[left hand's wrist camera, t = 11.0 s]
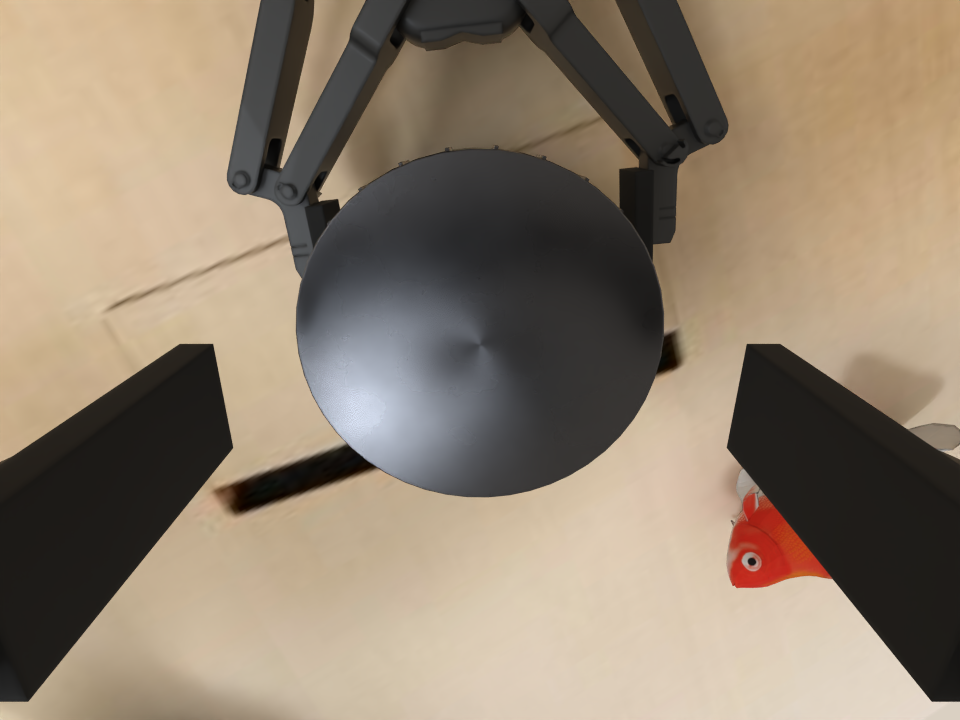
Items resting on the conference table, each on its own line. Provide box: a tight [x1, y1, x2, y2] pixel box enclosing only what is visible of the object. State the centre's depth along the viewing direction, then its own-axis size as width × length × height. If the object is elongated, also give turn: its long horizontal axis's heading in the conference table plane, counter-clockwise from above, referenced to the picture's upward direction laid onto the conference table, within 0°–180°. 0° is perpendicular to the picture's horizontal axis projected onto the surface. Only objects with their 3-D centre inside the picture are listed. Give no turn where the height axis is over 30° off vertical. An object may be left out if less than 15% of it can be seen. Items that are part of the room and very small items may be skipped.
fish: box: [727, 423, 960, 588], centre depth 33 cm, size 11×16×10 cm
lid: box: [296, 145, 664, 497], centre depth 17 cm, size 11×11×2 cm
